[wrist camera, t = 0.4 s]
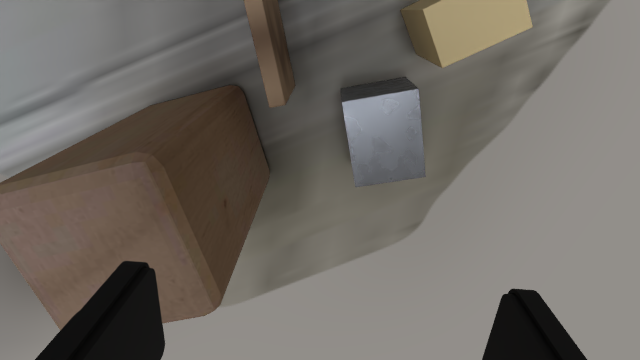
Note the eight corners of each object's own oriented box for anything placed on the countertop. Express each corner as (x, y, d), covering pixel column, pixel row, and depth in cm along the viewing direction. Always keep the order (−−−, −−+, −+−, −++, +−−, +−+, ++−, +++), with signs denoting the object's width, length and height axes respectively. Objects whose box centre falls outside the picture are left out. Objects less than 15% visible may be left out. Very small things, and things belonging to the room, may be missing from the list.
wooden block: (274, 176, 39) (222, 320, 21) (184, 196, 41) (62, 348, 22) (242, 80, 35) (145, 154, 17) (144, 105, 37) (-43, 200, 18)
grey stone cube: (340, 88, 35) (341, 102, 30) (405, 76, 35) (418, 88, 29) (352, 162, 38) (355, 187, 33) (412, 152, 38) (425, 176, 32)
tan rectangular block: (400, 9, 33) (422, 9, 24) (469, -25, 31) (517, -37, 23) (416, 54, 34) (442, 68, 26) (482, 23, 33) (532, 27, 25)
